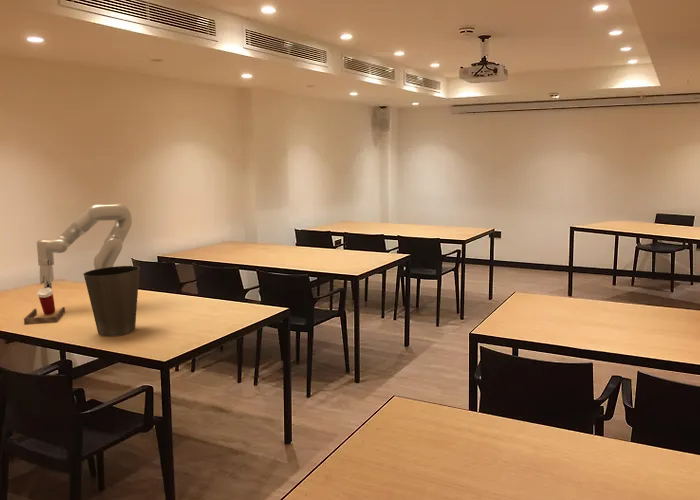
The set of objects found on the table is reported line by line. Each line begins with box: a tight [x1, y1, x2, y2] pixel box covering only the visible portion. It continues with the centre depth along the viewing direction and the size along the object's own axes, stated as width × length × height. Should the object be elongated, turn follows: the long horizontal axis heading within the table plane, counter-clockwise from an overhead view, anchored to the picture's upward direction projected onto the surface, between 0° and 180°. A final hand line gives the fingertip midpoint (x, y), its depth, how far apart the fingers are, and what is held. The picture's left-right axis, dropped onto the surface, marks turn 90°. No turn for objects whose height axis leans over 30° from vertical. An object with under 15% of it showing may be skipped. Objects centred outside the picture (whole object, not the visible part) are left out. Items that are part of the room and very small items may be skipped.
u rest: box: [23, 306, 66, 325], centre depth 314 cm, size 15×21×3 cm
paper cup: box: [36, 287, 56, 316], centre depth 319 cm, size 8×8×14 cm
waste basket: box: [83, 265, 141, 337], centre depth 286 cm, size 27×20×30 cm
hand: (48, 295), depth 323 cm, fingers closed
